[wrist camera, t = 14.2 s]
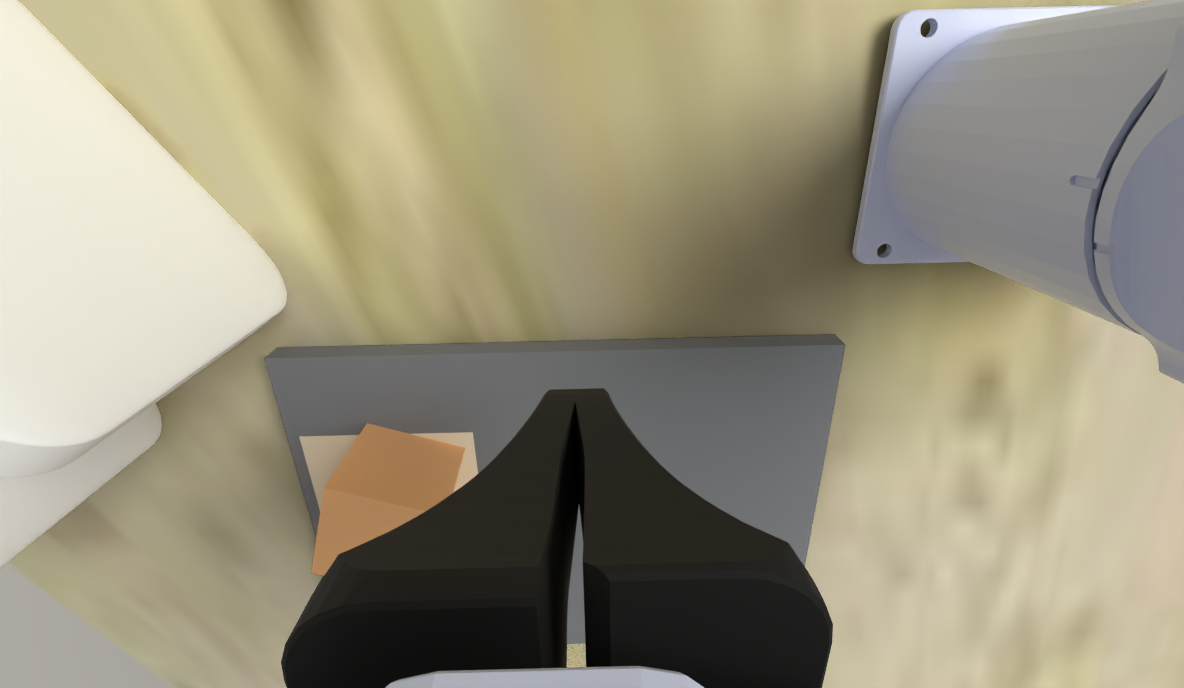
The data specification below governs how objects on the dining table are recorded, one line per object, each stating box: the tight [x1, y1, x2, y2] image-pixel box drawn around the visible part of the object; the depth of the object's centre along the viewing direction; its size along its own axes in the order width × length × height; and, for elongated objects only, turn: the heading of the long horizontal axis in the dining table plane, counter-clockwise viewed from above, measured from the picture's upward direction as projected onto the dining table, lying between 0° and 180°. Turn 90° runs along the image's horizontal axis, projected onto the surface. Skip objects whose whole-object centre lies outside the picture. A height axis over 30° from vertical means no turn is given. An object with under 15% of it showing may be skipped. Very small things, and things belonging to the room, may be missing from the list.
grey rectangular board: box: [264, 334, 845, 644], centre depth 25 cm, size 22×16×1 cm
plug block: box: [311, 423, 465, 576], centre depth 21 cm, size 4×4×4 cm
